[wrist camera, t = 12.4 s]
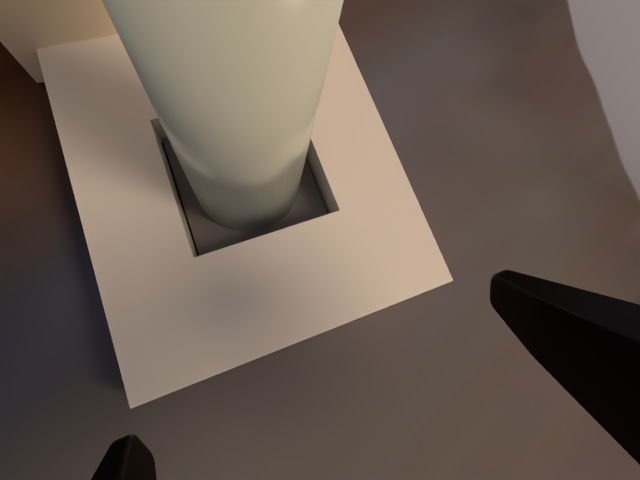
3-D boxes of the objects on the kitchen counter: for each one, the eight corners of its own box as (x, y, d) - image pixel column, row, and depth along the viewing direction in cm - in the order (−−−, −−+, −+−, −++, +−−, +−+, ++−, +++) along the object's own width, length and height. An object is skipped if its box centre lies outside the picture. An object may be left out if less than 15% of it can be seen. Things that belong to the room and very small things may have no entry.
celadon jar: (317, 172, 19) (446, -216, 6) (259, 251, 18) (248, -18, 4) (236, 118, 19) (172, -392, 6) (172, 192, 18) (-111, -257, 4)
